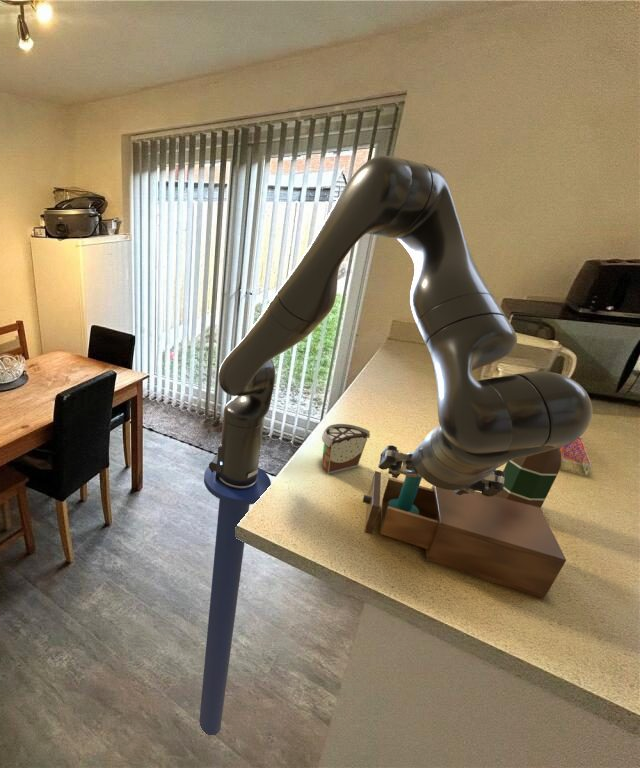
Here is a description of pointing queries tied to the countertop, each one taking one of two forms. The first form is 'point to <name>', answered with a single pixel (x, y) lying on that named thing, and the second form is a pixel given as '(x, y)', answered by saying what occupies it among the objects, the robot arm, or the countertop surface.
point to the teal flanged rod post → (407, 496)
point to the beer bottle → (531, 477)
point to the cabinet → (496, 541)
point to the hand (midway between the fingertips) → (425, 479)
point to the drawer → (402, 513)
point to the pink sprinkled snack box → (576, 455)
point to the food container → (343, 446)
